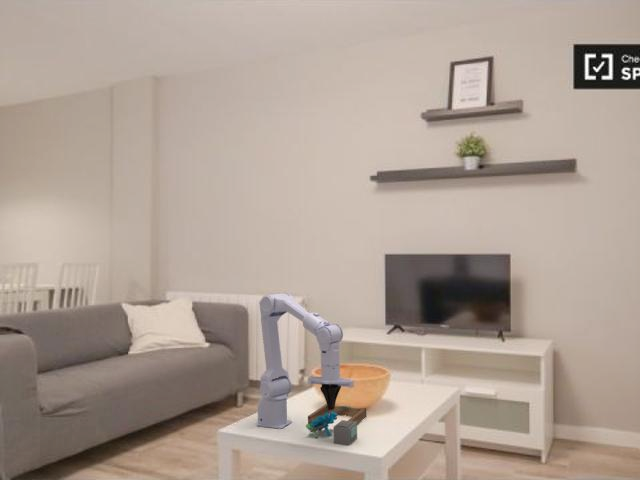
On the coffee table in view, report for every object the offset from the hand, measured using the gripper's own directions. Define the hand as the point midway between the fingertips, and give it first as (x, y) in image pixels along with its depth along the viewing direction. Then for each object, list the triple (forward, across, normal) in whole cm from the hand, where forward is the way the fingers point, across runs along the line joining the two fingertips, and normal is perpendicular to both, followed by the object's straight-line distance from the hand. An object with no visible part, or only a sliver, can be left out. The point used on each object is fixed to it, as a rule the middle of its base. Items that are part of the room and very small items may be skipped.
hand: (331, 408), depth 175 cm
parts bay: (+10, -6, +18) cm, 22 cm away
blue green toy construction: (+10, -6, +5) cm, 13 cm away
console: (+10, +4, +2) cm, 11 cm away
